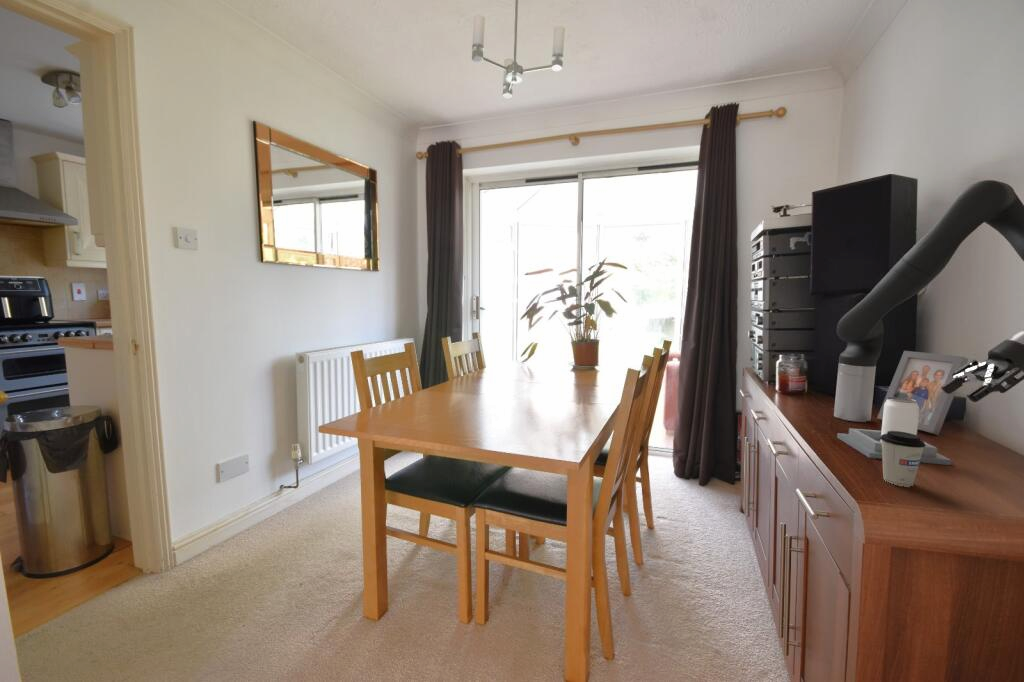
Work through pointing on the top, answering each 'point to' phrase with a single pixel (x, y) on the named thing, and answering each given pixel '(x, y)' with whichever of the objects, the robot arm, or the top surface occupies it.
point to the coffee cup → (901, 457)
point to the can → (900, 415)
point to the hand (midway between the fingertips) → (956, 395)
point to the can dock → (872, 446)
